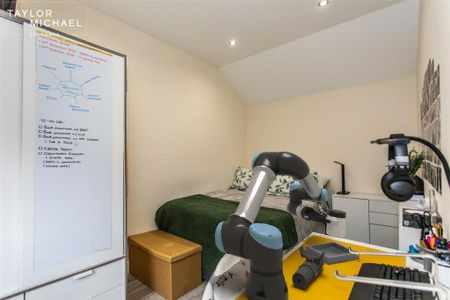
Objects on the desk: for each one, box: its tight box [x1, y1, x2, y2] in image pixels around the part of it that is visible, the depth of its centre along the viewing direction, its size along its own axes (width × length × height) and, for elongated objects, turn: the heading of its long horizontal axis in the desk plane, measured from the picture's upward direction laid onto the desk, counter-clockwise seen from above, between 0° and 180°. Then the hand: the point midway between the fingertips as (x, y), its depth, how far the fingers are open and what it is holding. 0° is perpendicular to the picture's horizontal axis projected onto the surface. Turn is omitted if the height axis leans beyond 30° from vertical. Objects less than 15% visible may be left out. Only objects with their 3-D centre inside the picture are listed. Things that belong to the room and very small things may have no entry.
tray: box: [305, 241, 360, 266], centre depth 116 cm, size 18×16×3 cm
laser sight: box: [291, 245, 325, 290], centre depth 95 cm, size 10×22×10 cm, turn 142°
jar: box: [325, 209, 347, 239], centre depth 118 cm, size 9×8×12 cm
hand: (337, 223), depth 113 cm, fingers closed on jar
